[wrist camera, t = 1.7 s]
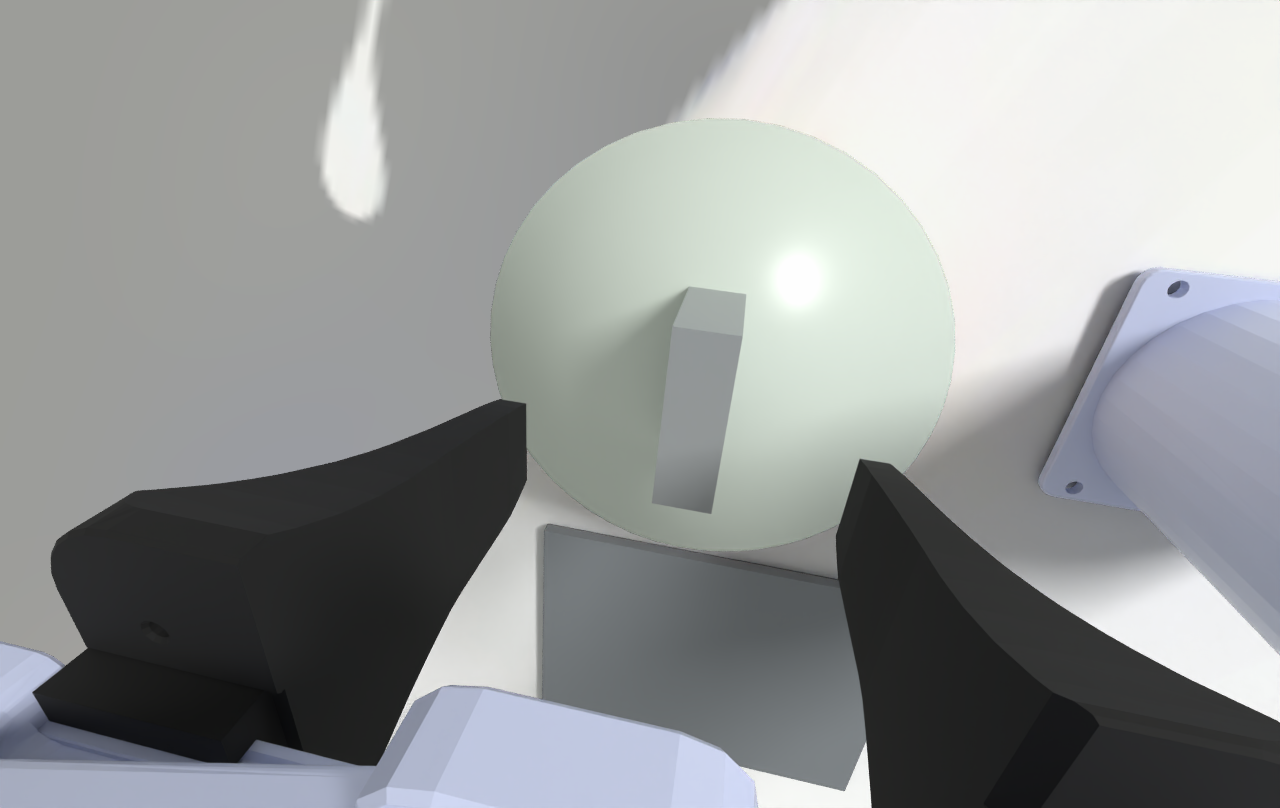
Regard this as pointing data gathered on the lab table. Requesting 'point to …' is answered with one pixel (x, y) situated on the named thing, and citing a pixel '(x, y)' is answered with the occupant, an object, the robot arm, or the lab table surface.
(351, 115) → the lab table surface
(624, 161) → the lid
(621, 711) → the mat
